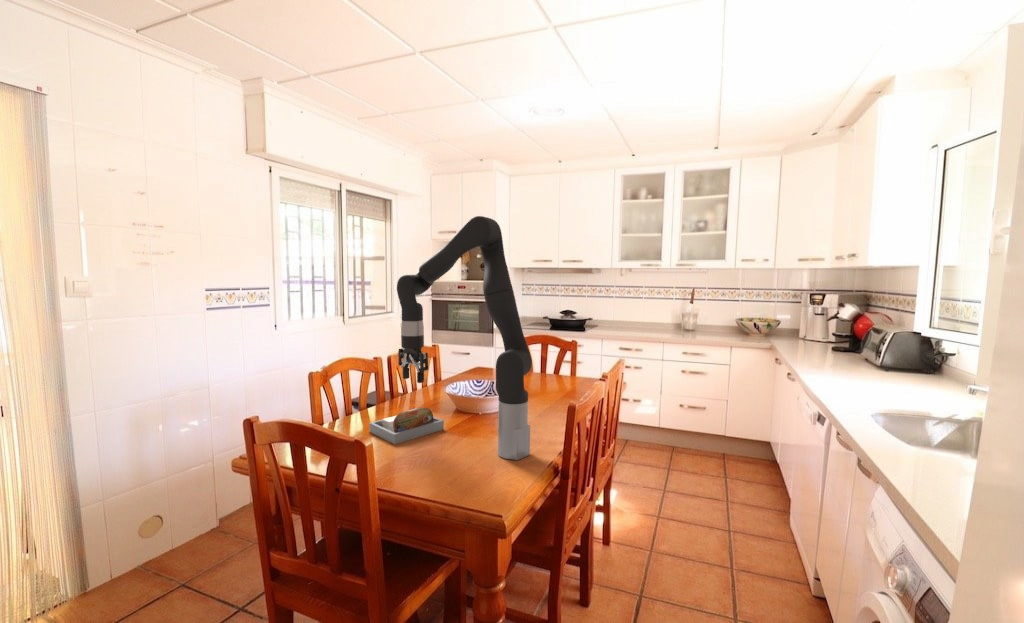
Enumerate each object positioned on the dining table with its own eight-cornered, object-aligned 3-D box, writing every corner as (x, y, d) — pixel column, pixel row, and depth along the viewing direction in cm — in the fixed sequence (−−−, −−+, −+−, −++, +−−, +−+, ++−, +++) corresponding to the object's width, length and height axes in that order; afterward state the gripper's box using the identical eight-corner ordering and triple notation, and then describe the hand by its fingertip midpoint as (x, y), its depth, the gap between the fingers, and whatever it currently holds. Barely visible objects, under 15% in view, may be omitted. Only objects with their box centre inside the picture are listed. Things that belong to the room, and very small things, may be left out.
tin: (396, 440, 152) (396, 415, 151) (391, 437, 154) (391, 413, 153) (433, 429, 162) (433, 406, 162) (428, 426, 165) (428, 404, 164)
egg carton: (418, 425, 166) (418, 414, 166) (389, 433, 158) (389, 422, 157) (411, 422, 169) (411, 411, 169) (382, 430, 161) (382, 419, 160)
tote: (443, 431, 163) (443, 420, 162) (394, 446, 148) (394, 434, 148) (417, 420, 173) (417, 410, 173) (369, 434, 159) (369, 422, 159)
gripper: (434, 334, 153) (434, 382, 154) (410, 330, 162) (410, 375, 164) (415, 336, 147) (416, 386, 149) (391, 332, 157) (392, 378, 158)
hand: (413, 380), depth 156 cm, fingers open, 8 cm apart
